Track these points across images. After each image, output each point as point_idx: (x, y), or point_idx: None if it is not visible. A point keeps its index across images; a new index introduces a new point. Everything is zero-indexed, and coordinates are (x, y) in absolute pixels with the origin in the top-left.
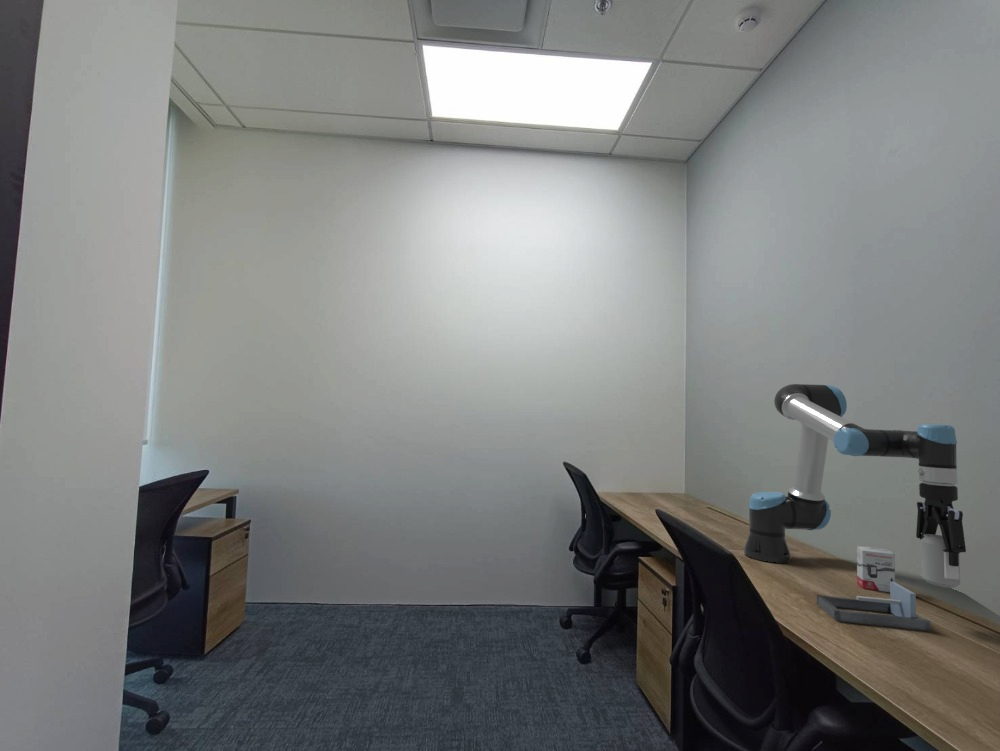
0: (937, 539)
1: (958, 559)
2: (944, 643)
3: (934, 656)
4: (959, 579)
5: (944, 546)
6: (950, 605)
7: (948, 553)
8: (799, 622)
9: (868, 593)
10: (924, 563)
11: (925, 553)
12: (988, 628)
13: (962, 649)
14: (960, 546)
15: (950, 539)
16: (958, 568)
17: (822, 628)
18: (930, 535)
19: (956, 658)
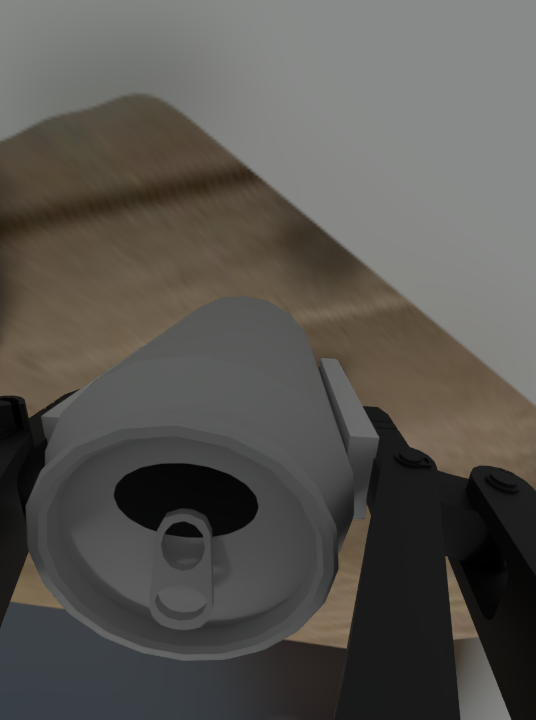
0: (299, 624)
1: (399, 433)
2: (386, 401)
3: (458, 469)
4: (295, 325)
5: (340, 541)
6: (32, 146)
7: (365, 494)
8: (318, 624)
9: (30, 383)
10: (236, 479)
11: (238, 527)
12: (245, 175)
13: (417, 381)
14: (493, 520)
15: (502, 666)
16: (348, 381)
17: (341, 600)
18: (58, 556)
19: (466, 430)
